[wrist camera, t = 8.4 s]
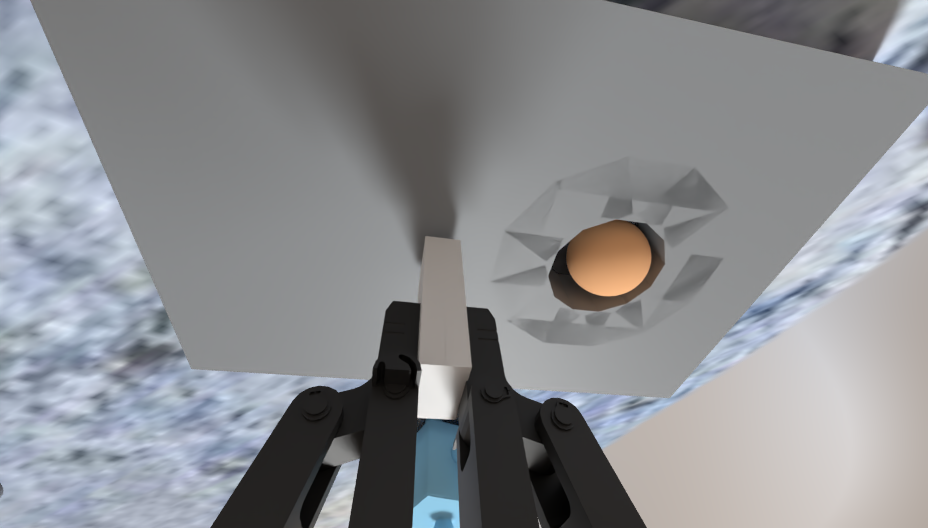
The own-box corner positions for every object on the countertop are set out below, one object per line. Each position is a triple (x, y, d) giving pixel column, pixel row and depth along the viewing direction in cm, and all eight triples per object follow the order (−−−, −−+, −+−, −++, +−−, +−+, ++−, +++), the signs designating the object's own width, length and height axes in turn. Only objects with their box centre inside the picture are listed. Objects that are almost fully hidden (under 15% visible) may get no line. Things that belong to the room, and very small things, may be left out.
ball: (560, 304, 18) (638, 319, 18) (590, 236, 16) (680, 254, 16) (552, 258, 21) (618, 271, 21) (576, 196, 19) (651, 212, 19)
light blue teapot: (449, 385, 28) (451, 493, 22) (514, 403, 30) (532, 507, 24) (389, 454, 34) (378, 553, 28) (447, 465, 36) (448, 561, 30)
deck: (217, 329, 23) (191, 369, 20) (69, -116, 11) (-34, -146, 9) (649, 362, 27) (669, 397, 25) (871, 65, 15) (950, 79, 13)
